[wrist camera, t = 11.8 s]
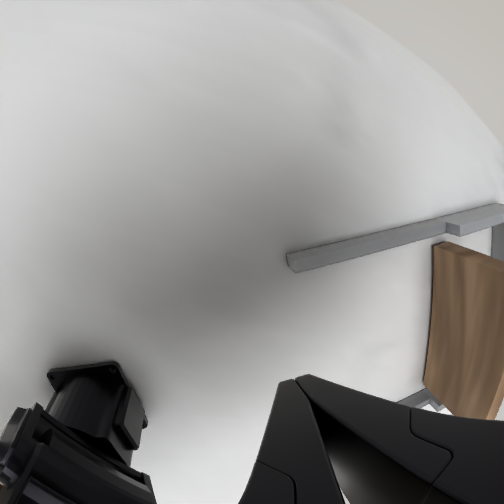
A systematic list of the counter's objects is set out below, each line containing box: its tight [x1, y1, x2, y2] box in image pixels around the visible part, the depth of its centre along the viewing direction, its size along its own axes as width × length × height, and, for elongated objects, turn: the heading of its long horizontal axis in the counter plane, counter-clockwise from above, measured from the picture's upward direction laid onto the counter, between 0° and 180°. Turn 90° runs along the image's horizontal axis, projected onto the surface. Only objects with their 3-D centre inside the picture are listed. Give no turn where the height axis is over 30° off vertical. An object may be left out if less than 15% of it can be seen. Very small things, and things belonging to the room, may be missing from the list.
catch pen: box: [287, 203, 504, 412], centre depth 21 cm, size 21×18×4 cm
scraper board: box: [423, 241, 504, 420], centre depth 19 cm, size 2×14×9 cm, turn 11°
